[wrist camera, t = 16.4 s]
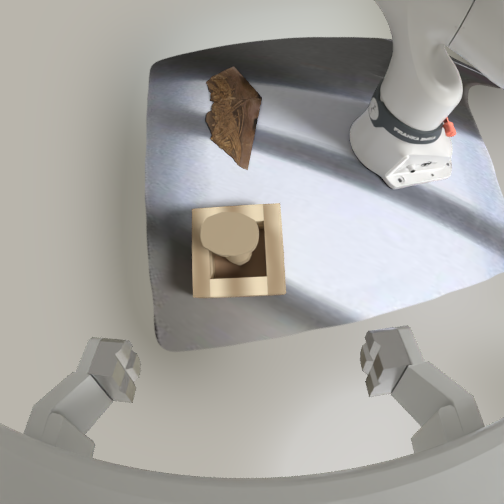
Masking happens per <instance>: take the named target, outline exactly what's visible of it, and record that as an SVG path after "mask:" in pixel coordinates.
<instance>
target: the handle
mask: <svg viewBox="0 0 504 504" xmlns="http://www.w3.org/2000/svg"><path fill="white" fill-rule="evenodd" d="M200 237H201V242H202V244H203V246H204V247H205V248H206V249H208V250H210V251H211V252H213V253H215V254H217V255H219V256H223V257H226V258H227V259H228V260H229V261H230V262H232V263H233V264H237V265H242V264H245V263H246V262H248V261H249V260H250V257H251V255H252V251H254V249H255V248H256V246H257V244H258V240H259V229H258V225H257V223H256V221H255V220H253V219H252V218H250V217H248V216H246V215H244V214H241V213H237V212H221V213H217V214H215V215H212V216H210V217H207V218H206V219H205V221H204V222H203V224H202V227H201V233H200Z"/></svg>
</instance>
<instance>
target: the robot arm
mask: <svg viewBox="0 0 504 504" xmlns="http://www.w3.org/2000/svg"><path fill="white" fill-rule="evenodd" d="M374 1H375V2H376V4H377V5H378V6H379V8H380V9H381V11H382V12H383V14H384V16H385V18H386V20H387V22H388V25H389V27H390V31H391V34H392V39H393V54H392V58H391V62H390V65H389V68H388V70H387V73H386V75H385V78H383V79H382V80H381V81H380V83H379V84H378V86H377V88H376V90H375V92H374V94H373V96H372V99H371V102H370V105H369V107H368V108H367V109H366V111H365V112H364V113H363V114H362V115H361V116H360V117H359V118H358V119H356V120H355V121H354V123H353V124H352V126H351V129H350V143H351V146H352V149H353V151H354V153H355V155H356V156H357V157H358V159H359V160H360V161H361V162H362V163H363V164H364V165H365V166H366V167H367V168H368V169H370V170H371V171H373V172H375V173H376V174H378V175H379V176H381V177H382V179H383V180H384V181H385V182H386V183H387V185H388V186H389V187H391V188H392V189H399V188H404V187H409V186H414V185H419V184H424V183H429V182H434V181H439V180H444V179H448V178H449V177H450V175H451V171H452V162H451V157H452V142H451V138H450V137H452V136H454V135H456V130H455V129H454V127H453V123H452V122H449V121H448V118H447V116H448V115H449V114H450V113H451V111H452V110H453V109H454V108H455V107H456V106H457V104H458V103H459V102H460V100H461V97H462V91H463V88H462V81H461V78H460V75H459V72H458V70H457V68H456V66H455V64H454V63H453V61H452V60H451V58H450V57H449V55H448V53H447V52H446V49H445V47H444V45H445V46H446V47H447V46H448V47H449V48H450V49H452V50H453V51H454V52H456V53H457V54H458V55H460V56H461V57H463V58H464V59H465V60H466V61H468V62H469V63H470V64H471V65H473V66H474V67H475V68H476V69H477V70H479V71H480V72H481V73H482V74H483V75H485V76H486V77H487V78H488V79H489V80H490V81H492V82H493V83H495V84H496V85H498V86H499V87H501V88H502V89H504V0H374ZM446 164H447V165H448V166H447V165H446ZM398 180H400V181H401V183H400V182H399V181H398ZM365 340H366V343H365V344H364V345H363V346H362V349H361V353H360V361H361V367H362V371H363V372H365V373H366V374H367V375H368V376H367V379H366V381H365V382H366V386H367V390H368V394H369V397H373V396H379V395H384V394H391V393H392V394H391V395H392V396H393V397H394V398H395V399H396V400H397V401H398V403H400V405H401V406H402V407H403V408H404V409H405V410H406V411H407V412H408V413H409V414H410V415H411V416H412V417H413V418H414V419H415V420H416V421H417V422H418V423H419V424H420V426H421V428H420V430H418V431H417V432H416V433H415V434H414V435H413V437H412V438H411V441H412V445H413V449H414V454H411V455H408V456H404V457H400V458H397V459H393V460H389V461H385V462H381V463H377V464H372V465H367V466H363V467H358V468H352V469H347V470H341V471H335V472H328V473H321V474H312V475H302V476H291V477H277V478H276V477H275V478H215V477H213V478H212V477H198V476H187V475H178V474H169V473H162V472H156V471H149V470H143V469H138V468H133V467H128V466H123V465H118V464H114V463H110V462H106V461H102V460H97V459H94V458H92V457H93V452H94V448H95V443H94V442H93V440H91V439H90V438H89V437H87V436H86V435H85V434H86V433H87V431H88V430H89V429H90V428H91V427H92V426H93V424H94V423H95V422H96V421H97V420H98V418H99V417H100V416H101V415H102V414H103V413H104V412H105V410H106V409H107V408H108V407H109V406H110V405H111V404H112V402H113V401H120V402H129V403H133V399H134V395H135V391H136V386H135V384H134V381H135V380H137V379H138V378H139V375H140V366H141V364H140V359H139V357H138V355H137V353H135V352H134V351H132V347H133V346H132V344H131V343H130V341H129V340H119V339H108V338H97V337H92V338H91V339H90V340H89V341H88V343H87V346H86V348H85V350H84V353H83V355H82V358H81V360H80V363H79V366H78V368H77V370H76V372H72V373H71V374H70V375H68V376H67V377H66V378H65V379H64V380H62V381H61V382H60V383H59V384H58V385H57V386H56V387H54V388H53V389H52V390H51V391H50V392H49V393H47V394H46V395H45V396H44V397H43V398H42V399H41V400H39V401H38V402H37V403H36V404H35V405H34V406H33V409H32V411H31V414H30V417H29V420H28V422H27V425H26V429H25V431H24V434H22V433H20V432H18V431H15V430H13V429H11V428H9V427H7V426H5V425H2V424H0V504H504V417H503V418H501V419H499V420H497V421H495V422H493V423H491V424H489V425H487V426H484V423H483V420H482V418H481V415H480V412H479V410H478V407H477V404H476V401H475V399H474V396H473V395H472V394H470V393H469V392H468V391H466V390H465V389H464V388H463V387H461V386H460V385H459V384H457V383H456V382H455V381H454V380H452V379H451V378H450V377H448V376H447V375H446V374H445V373H443V372H442V371H441V370H440V369H438V368H437V367H436V366H434V365H433V364H432V363H430V362H429V361H427V362H425V360H424V358H423V355H422V353H421V351H420V348H419V346H418V343H417V341H416V339H415V337H414V334H413V332H412V330H411V328H410V327H409V326H408V325H407V326H400V327H395V328H394V327H392V328H385V329H379V330H372V331H368V332H367V334H366V336H365Z"/></svg>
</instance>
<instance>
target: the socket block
mask: <svg viewBox="0 0 504 504" xmlns="http://www.w3.org/2000/svg"><path fill="white" fill-rule="evenodd" d="M221 212H237V213H241V214H244V215H246V216H248V217H250V218H252V219H253V220H255V221H256V223H257V225H258V229H259V240H258V244H257V246H256V248H255V249H254V251H252V255H251V257H250V260H249V261H248V262H246V263H245V264H242V265H237V264H233V263H232V262H230V261H229V260H228V259H227V258H226V257H223V256H219V255H217V254H215V253H213V252H211V251H210V250H208V249H206V248H205V247H204V246H203V244H202V242H201V237H200V233H201V227H202V224H203V222H204V221H205V219H206V218H207V217H210V216H212V215H215V214H217V213H221ZM192 276H193V297H194V298H226V297H250V296H270V295H284V294H286V286H285V268H284V252H283V237H282V223H281V209H280V203H277V204H257V205H240V206H225V207H211V208H198V209H192Z"/></svg>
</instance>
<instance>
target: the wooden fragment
mask: <svg viewBox="0 0 504 504" xmlns="http://www.w3.org/2000/svg"><path fill="white" fill-rule="evenodd" d="M206 84H207V86H208V89H209V91H210V93H211V99H210V101H213V102H214V103H213V105H212V110H211V111H210V112H208V113H207V115H206V122H207V123H208V126H209V127H210V129H211V134H212V136H211V140H212V141H213V142H214V143H215V144H217V145H218V146H219V147H220V148H221V149H223V150H224V151H225V152H226V153H227V154H229V155H230V156H231V157H232V158H233V159H235V162H236V163H237V165H239V166H240V167H242V168H243V169H247V170H248V165H249V160H250V155H251V150H252V144H253V140H254V134H255V129H256V124H257V119H258V115H259V110H260V105H261V100H262V97H261V96H260V95H259V94H258V92H257V91H256V90H255V89H254V88H253V87H252V86H251V85H250V84H249V82H248V81H247V80H246V79H245V78H244V77H243V76H242V75H241V74H240V73H239V72H238V70H237V69H236V68H235V67H231V68H229V69H227V70H225V71H222V72H221V73H219V74H218V75H215V76H212V77H211V78H210V80H208V81H207V82H206Z"/></svg>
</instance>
